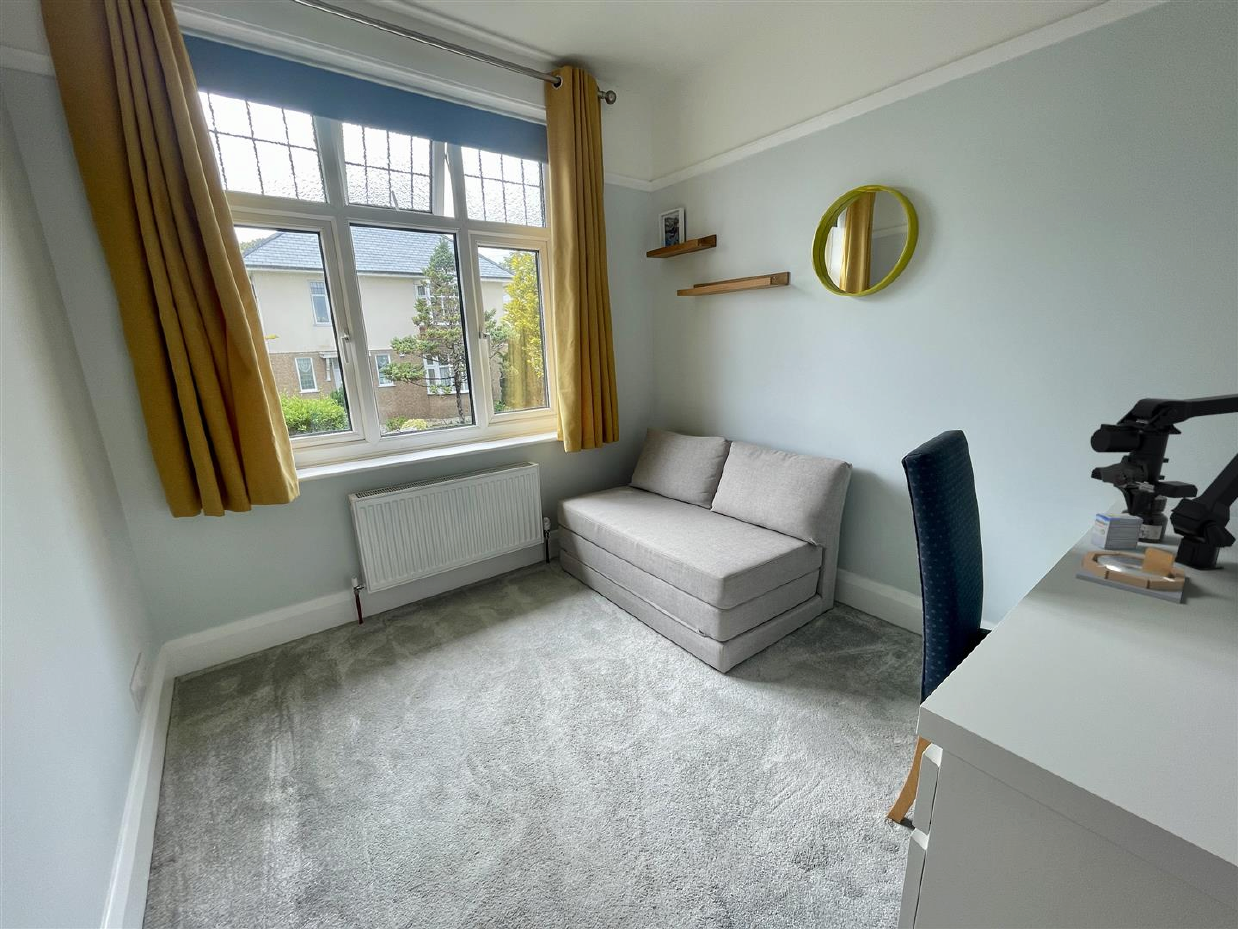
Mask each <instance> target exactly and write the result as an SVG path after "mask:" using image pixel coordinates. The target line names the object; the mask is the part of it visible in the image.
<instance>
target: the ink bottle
mask: <svg viewBox="0 0 1238 929" xmlns="http://www.w3.org/2000/svg"><path fill="white" fill-rule="evenodd" d="M1167 501H1168V497H1165V496H1161V495H1159V496H1158V497H1156V498H1155V499H1154V500H1153V501H1151V502H1150V503H1149V504H1148V505H1147V506H1146V507H1145V508H1144V509H1143V510H1142V511H1141V512H1140V513H1139V514H1138V515H1137V517H1139V518H1141V519H1143V522H1142V526H1141V531H1140V535H1139V539H1138V542H1144V543H1161V542H1163V541H1164V540H1165V536H1166V532H1167V526H1168V523H1169V517H1168V516H1166V515H1165V514H1164V511H1165V510H1166V505H1167ZM1121 513H1128V514H1129V512H1128V508H1126V509H1124V510H1122V511H1121Z"/></svg>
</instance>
